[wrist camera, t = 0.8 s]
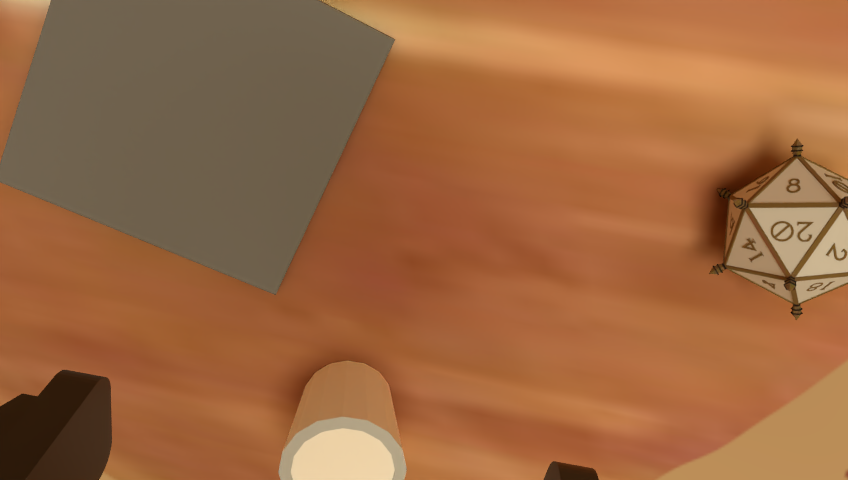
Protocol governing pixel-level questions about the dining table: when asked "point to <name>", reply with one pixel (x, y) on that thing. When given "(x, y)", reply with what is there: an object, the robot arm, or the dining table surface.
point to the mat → (194, 121)
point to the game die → (789, 231)
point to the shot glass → (344, 428)
